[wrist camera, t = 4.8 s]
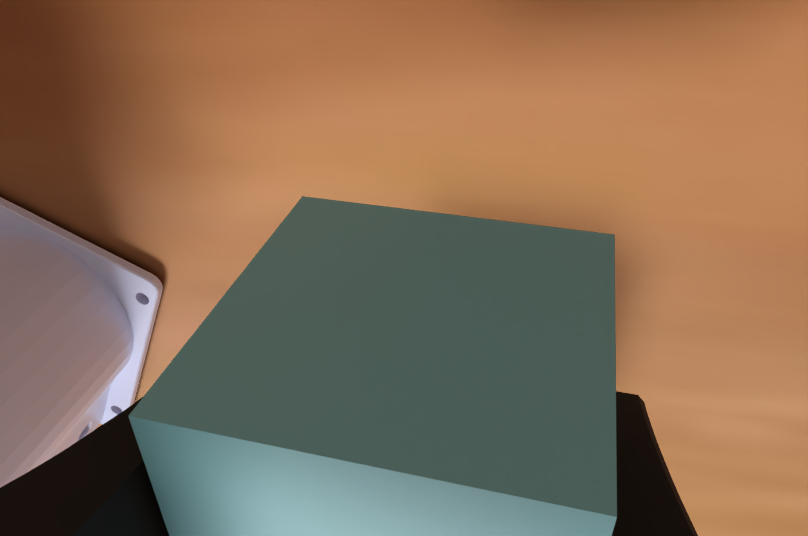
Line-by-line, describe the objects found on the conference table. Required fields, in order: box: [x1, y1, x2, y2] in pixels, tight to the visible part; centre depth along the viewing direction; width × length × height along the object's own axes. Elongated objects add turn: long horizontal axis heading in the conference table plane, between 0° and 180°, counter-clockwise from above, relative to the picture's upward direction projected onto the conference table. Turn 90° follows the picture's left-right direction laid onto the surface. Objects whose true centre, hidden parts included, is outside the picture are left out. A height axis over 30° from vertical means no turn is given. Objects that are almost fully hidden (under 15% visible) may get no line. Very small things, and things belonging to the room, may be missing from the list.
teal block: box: [128, 196, 617, 536], centre depth 10 cm, size 5×5×5 cm
